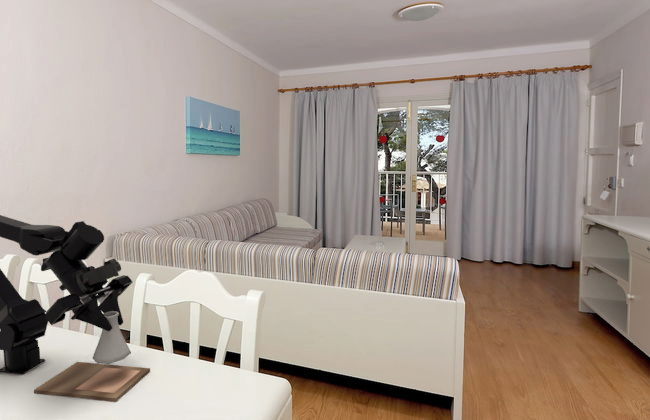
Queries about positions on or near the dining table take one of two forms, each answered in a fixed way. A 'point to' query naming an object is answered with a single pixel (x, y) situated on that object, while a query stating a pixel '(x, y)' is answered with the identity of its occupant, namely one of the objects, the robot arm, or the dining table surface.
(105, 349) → the flask
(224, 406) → the dining table surface
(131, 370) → the walnut board
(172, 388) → the dining table surface
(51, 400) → the dining table surface
